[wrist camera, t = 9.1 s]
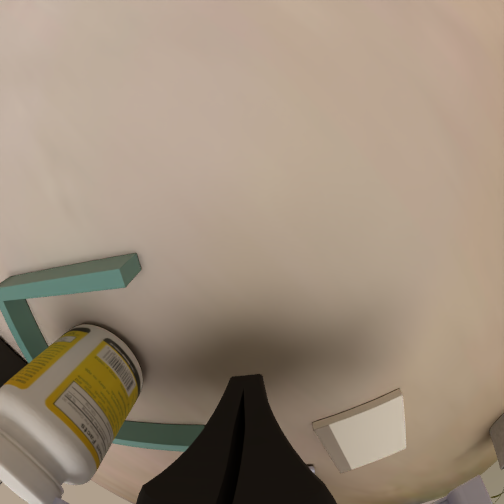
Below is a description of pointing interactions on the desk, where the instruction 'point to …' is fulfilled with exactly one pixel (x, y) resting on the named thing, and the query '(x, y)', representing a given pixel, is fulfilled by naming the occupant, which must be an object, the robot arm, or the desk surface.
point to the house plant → (498, 441)
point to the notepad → (364, 432)
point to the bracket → (78, 281)
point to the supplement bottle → (65, 412)
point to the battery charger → (8, 364)
